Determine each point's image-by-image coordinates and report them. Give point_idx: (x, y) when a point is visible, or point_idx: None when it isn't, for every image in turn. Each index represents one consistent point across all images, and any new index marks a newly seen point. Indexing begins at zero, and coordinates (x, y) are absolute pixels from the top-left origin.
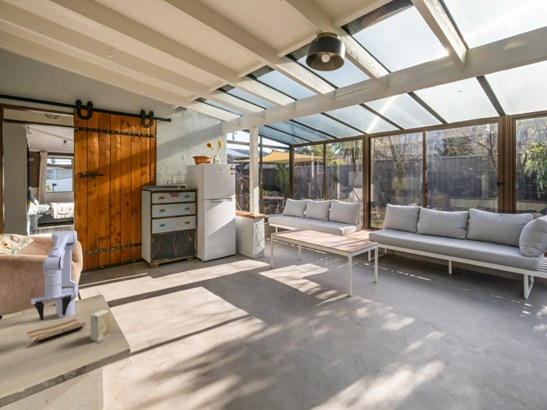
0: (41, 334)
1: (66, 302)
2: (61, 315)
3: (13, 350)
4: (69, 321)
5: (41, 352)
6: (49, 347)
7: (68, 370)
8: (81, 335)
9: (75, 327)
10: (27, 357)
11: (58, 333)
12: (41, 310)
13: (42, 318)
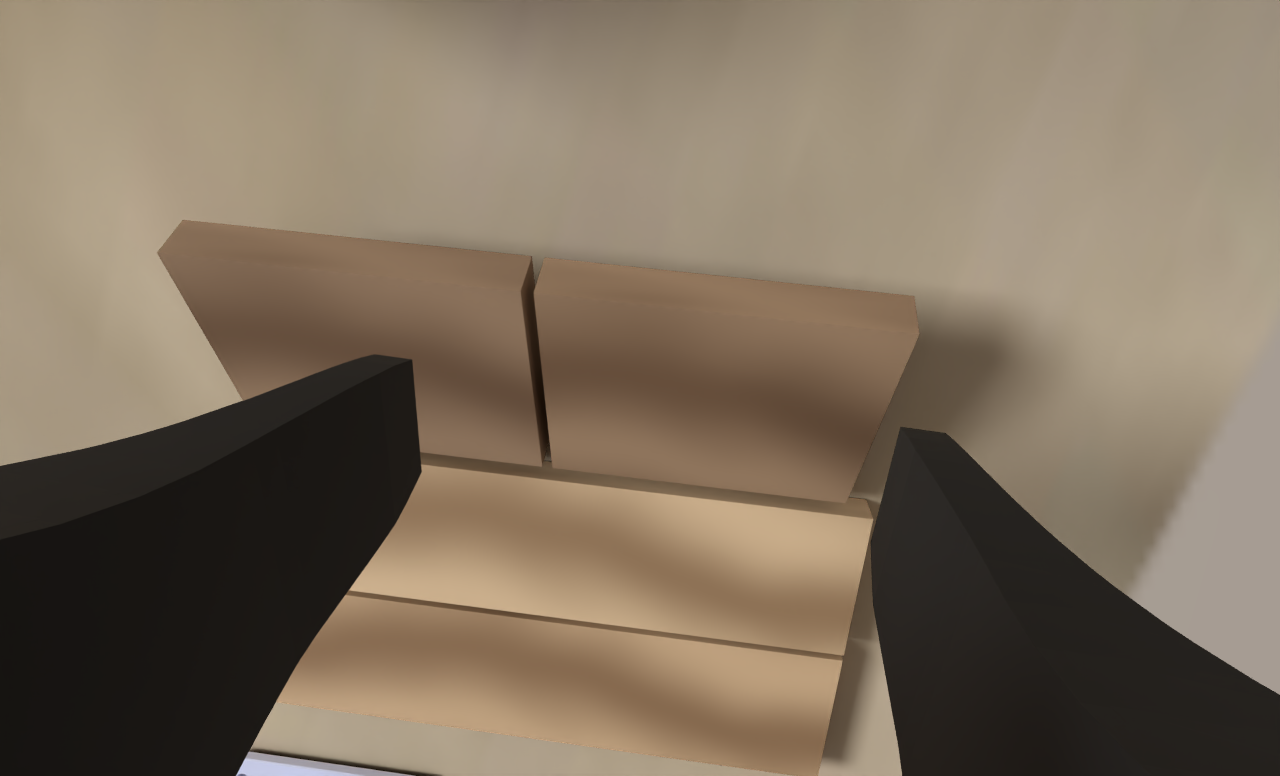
0: (727, 585)
1: (23, 501)
2: None
3: (1086, 486)
4: (354, 659)
5: (916, 95)
6: (783, 162)
7: None
8: (346, 152)
9: (348, 240)
10: (1095, 109)
11: (612, 278)
12: (1093, 611)
13: (940, 449)
